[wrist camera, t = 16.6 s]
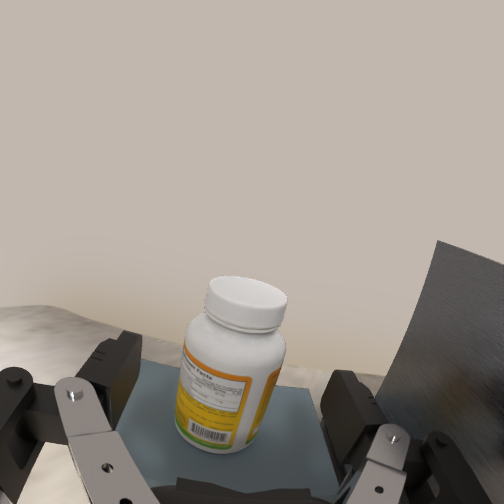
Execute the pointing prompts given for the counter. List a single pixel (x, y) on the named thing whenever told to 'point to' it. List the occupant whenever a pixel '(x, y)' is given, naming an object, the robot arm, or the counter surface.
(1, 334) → the counter surface
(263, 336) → the supplement bottle
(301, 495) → the robot arm
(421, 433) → the mounted unit
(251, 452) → the mat
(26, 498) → the counter surface
